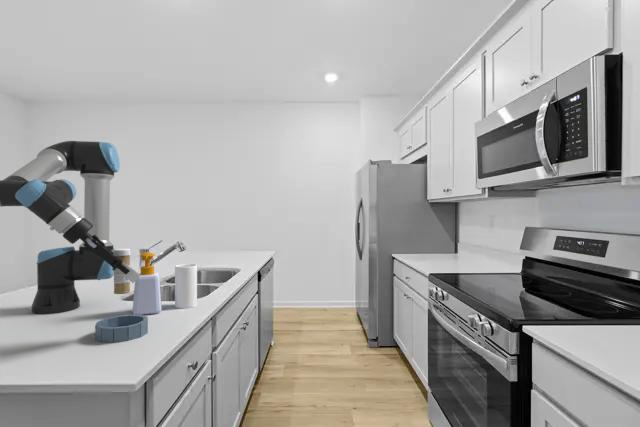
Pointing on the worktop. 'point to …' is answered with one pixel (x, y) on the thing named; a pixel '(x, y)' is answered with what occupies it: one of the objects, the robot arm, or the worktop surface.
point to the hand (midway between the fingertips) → (135, 278)
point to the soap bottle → (147, 289)
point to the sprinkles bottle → (120, 280)
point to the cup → (185, 286)
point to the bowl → (121, 328)
